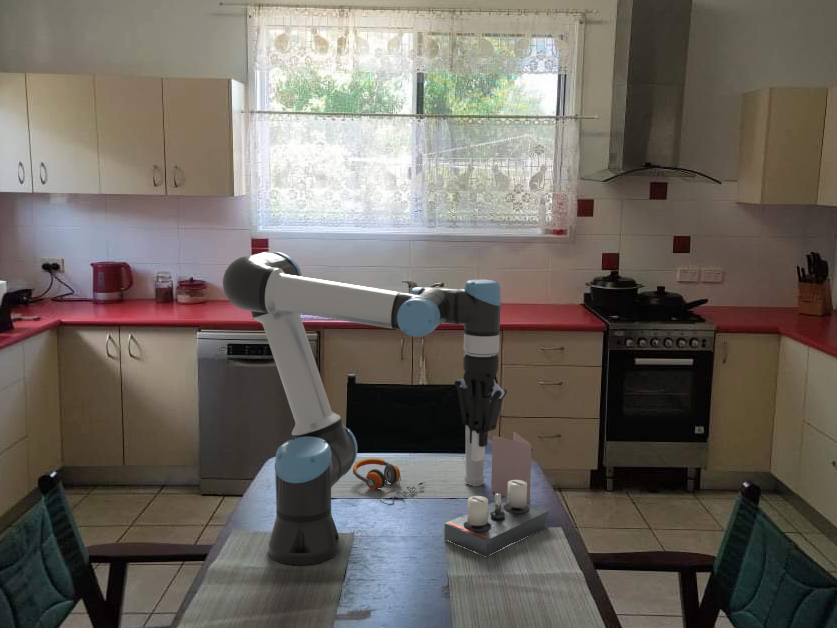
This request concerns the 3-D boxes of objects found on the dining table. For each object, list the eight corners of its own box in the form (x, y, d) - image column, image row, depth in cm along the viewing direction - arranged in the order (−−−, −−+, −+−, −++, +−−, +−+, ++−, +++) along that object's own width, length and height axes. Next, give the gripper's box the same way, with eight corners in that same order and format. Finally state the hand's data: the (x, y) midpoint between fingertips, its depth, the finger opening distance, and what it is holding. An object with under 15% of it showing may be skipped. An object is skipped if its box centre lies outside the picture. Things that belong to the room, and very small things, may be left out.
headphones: (391, 498, 197) (338, 460, 209) (387, 516, 198) (335, 478, 211) (437, 480, 209) (385, 446, 221) (434, 498, 210) (382, 463, 223)
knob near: (463, 521, 178) (463, 499, 177) (476, 515, 181) (476, 493, 180) (478, 527, 175) (479, 505, 174) (491, 521, 178) (492, 499, 177)
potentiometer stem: (487, 517, 183) (487, 494, 182) (496, 513, 185) (497, 490, 184) (498, 521, 181) (499, 498, 180) (507, 517, 183) (508, 494, 182)
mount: (444, 540, 180) (444, 522, 179) (506, 512, 195) (507, 495, 195) (486, 558, 172) (486, 539, 171) (547, 527, 187) (548, 510, 186)
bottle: (461, 480, 216) (463, 389, 212) (479, 478, 217) (481, 388, 213) (468, 487, 211) (470, 394, 207) (487, 485, 212) (489, 392, 208)
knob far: (503, 503, 188) (503, 482, 187) (515, 498, 191) (515, 478, 190) (518, 509, 184) (519, 487, 184) (530, 504, 188) (530, 482, 187)
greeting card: (532, 502, 201) (534, 444, 199) (505, 505, 199) (506, 447, 197) (514, 486, 212) (516, 431, 210) (488, 488, 210) (489, 433, 208)
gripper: (516, 355, 170) (512, 463, 174) (469, 345, 179) (467, 448, 183) (493, 360, 165) (489, 471, 169) (446, 350, 174) (444, 455, 178)
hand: (477, 459), depth 176 cm, fingers closed
